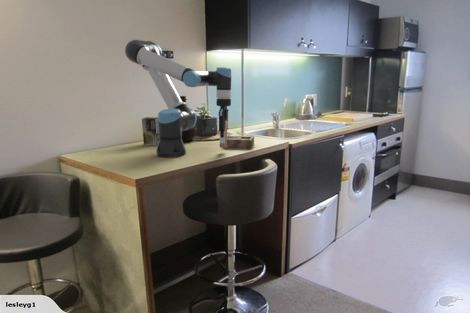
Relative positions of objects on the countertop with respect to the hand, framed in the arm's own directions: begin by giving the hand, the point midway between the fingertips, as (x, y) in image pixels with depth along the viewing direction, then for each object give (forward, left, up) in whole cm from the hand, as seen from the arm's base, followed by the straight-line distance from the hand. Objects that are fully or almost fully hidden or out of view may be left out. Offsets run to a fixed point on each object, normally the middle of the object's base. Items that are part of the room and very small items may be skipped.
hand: (223, 142), depth 184 cm
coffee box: (-46, +14, -6) cm, 49 cm away
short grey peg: (+2, +18, -6) cm, 19 cm away
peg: (0, 0, -3) cm, 3 cm away
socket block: (+6, +18, -6) cm, 20 cm away
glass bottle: (-32, +29, -6) cm, 44 cm away
